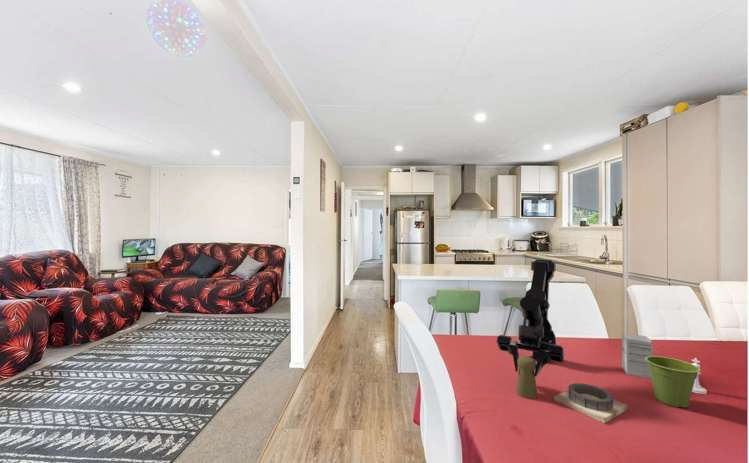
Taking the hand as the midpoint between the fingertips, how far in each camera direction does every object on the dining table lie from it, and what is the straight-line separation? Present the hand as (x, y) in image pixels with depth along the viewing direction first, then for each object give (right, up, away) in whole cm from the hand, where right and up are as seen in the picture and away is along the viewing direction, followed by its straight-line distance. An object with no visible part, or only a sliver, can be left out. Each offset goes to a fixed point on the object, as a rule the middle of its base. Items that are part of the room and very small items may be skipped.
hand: (525, 373), depth 97 cm
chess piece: (+56, -7, +4) cm, 56 cm away
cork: (+1, -7, +1) cm, 7 cm away
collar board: (+16, -7, -5) cm, 18 cm away
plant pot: (+41, -7, -3) cm, 42 cm away
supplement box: (+47, -7, +17) cm, 51 cm away
